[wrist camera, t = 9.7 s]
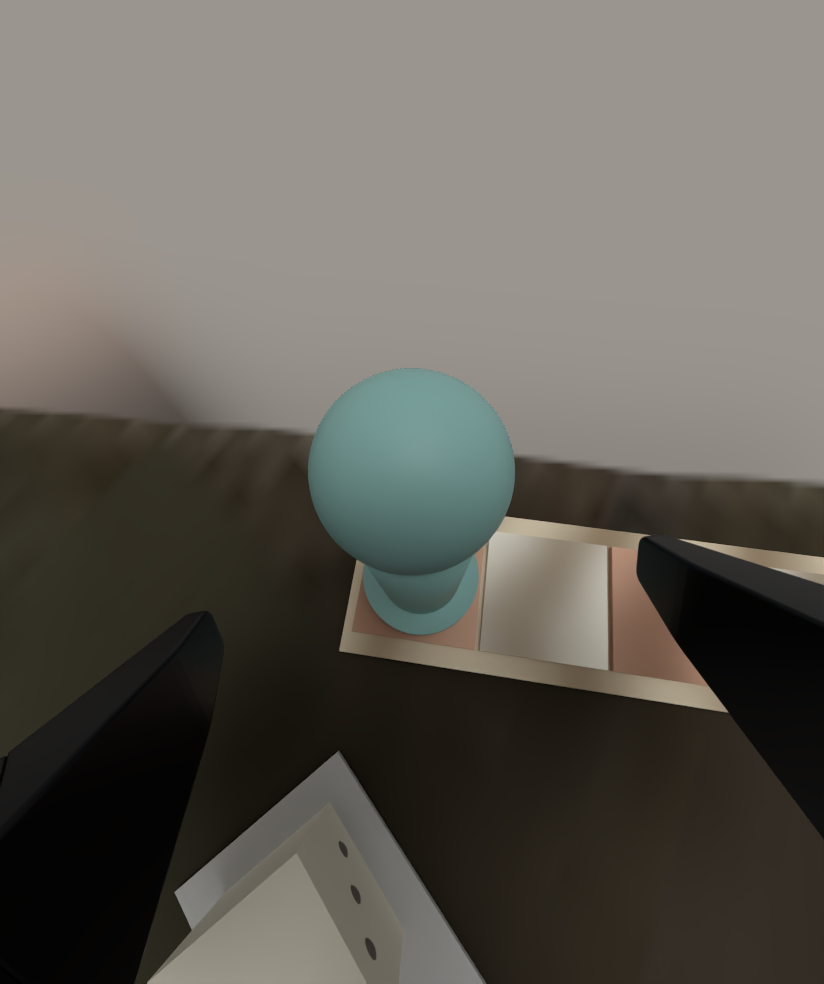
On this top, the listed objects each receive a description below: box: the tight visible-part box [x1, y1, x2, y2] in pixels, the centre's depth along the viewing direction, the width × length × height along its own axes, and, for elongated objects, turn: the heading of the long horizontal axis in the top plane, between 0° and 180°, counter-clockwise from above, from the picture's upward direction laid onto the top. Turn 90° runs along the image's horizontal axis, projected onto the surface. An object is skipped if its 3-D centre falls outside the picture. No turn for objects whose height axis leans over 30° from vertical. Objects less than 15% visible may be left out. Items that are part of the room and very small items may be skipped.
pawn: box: [308, 368, 515, 635], centre depth 12 cm, size 4×4×13 cm
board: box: [339, 517, 824, 713], centre depth 18 cm, size 21×6×2 cm, turn 82°
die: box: [147, 803, 403, 984], centre depth 13 cm, size 5×5×5 cm
